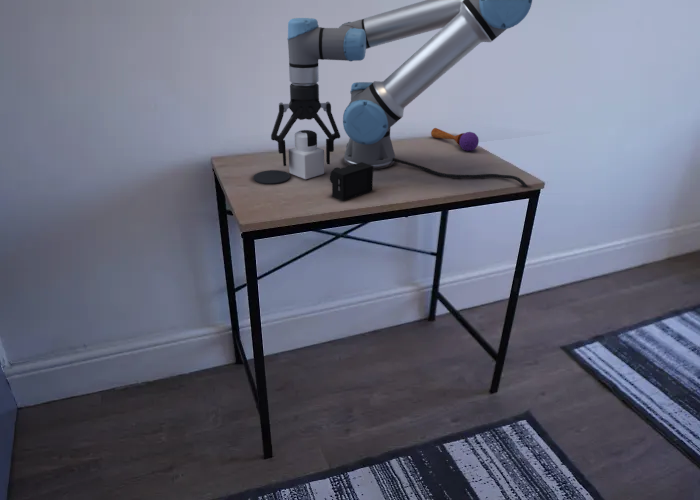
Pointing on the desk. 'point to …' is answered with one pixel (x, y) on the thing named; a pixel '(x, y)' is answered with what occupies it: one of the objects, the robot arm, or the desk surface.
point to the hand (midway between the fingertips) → (306, 163)
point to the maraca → (459, 138)
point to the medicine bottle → (306, 156)
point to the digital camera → (351, 181)
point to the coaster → (271, 177)
